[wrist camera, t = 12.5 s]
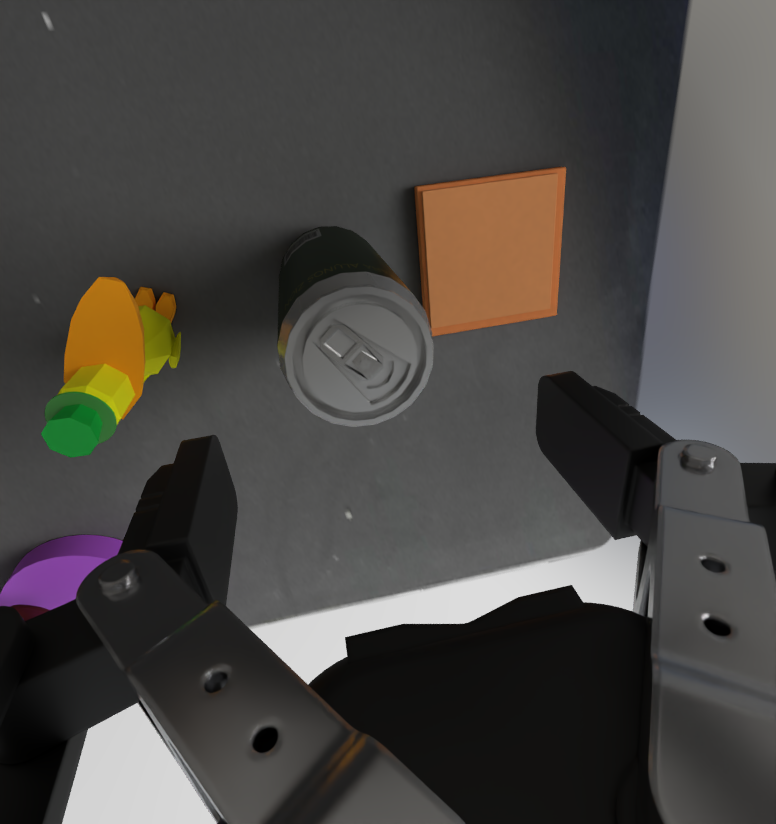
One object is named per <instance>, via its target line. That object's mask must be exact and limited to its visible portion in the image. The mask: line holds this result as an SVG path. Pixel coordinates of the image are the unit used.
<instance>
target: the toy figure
mask: <svg viewBox="0 0 776 824" xmlns="http://www.w3.org/2000/svg"><path fill="white" fill-rule="evenodd" d="M155 304H156V300H155V297H154V294H153V291H152V289H151V288H145V287H140V289H139V291H138V293H137V295H136V297H135V299H134V298H133V296H132V294H131V293H130V291H129V289H128V287H127V286H126V284H125V283H124V282H122V281H121V280H119V279H118V278H116V277H98V279H97V280H96V281H95V282H94V284H93V285H92V286H91V287H90V288H89V290H88V291H87V292H86V293H85V295H84V296H83V297H82V298H81V300H80V302H79V304H78V306H77V309H76V311H75V313H74V315H73V317H72V319H71V323H70V329H69V334H68V339H67V345H66V350H65V361H64V382H65V385H64V386H63V387H62V389H61V390H60V391H59V393H58V395H57V396H55V397H53V398H52V399H51V400H50V401H49V402H48V404H47V406H46V408H45V419H46V422H47V425H46V426H45V428H44V430H43V431H42V433H41V435H42V437H43V438H44V440H45V441H46V443H47V445H48V446H49V448H50V449H51V450H53V451H56V452H58V453H61V454H63V455H66V456H68V457H77V456H84V455H90V454H91V452H92V451H93V449H94V448H95V446H96V445H97V444H99V443H102V442H104V441H106V440H108V439H109V438H110V437H111V436H112V435H113V434H114V432H115V430H116V426H117V424H118V422H119V421H120V419H124V417H125V416H126V415H127V413H128V412H129V411H130V410H131V408H132V407H133V406H134V404H135V403H136V402H137V400H138V399H139V398H140V396H141V395H142V390H143V383H144V382H145V380H146V379H147V378H148V377H149V376H150V375H153V374H158V373H159V371H160V370H161V368H162V367H163V365H164V364H165V362H166V361H167V359H168V358H169V364H170V367H172V368H176V366H177V364H178V362H179V359H180V350H181V332H179V333H178V335H177V336H176V338H175V336H174V332H173V329H172V326H171V323H172V320H173V318H174V315H175V312H176V302H175V298H174V295H173V294H169V293H165V292H163V294H162V295H161V297H160V299H159V301H158V302H157V304H156V311H155Z"/></svg>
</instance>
